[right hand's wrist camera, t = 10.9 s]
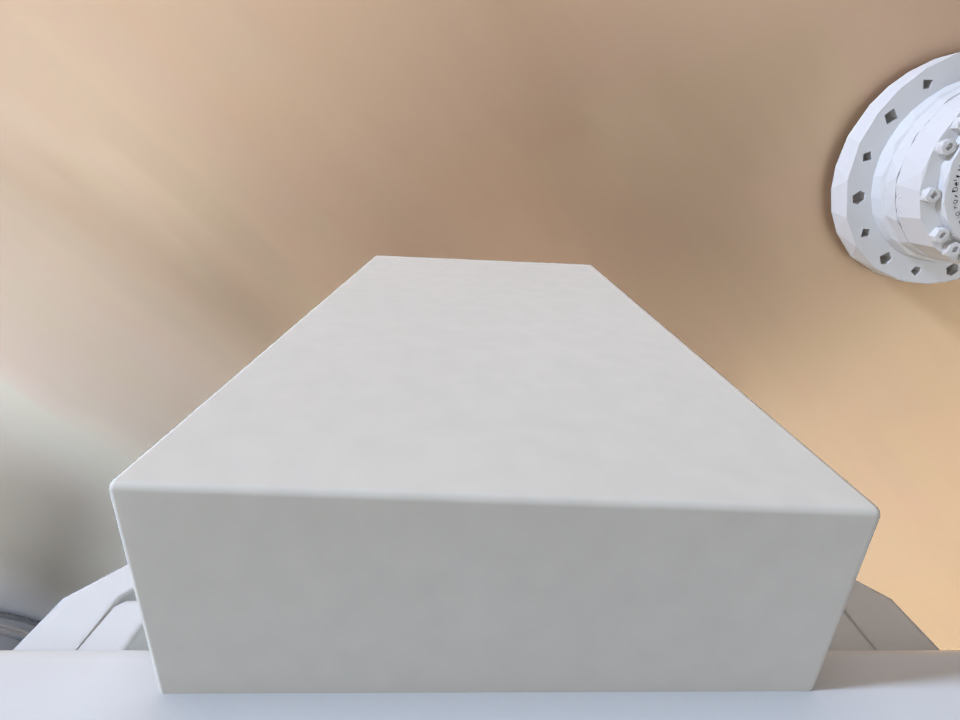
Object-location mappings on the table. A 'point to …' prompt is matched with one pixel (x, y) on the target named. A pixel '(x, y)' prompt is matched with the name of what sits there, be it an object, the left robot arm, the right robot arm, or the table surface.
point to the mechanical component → (905, 178)
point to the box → (485, 504)
